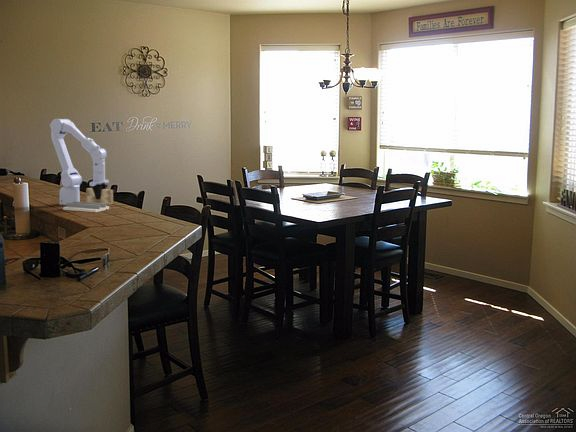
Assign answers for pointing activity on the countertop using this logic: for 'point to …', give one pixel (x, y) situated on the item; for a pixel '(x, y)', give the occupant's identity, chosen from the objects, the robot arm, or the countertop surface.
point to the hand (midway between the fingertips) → (99, 198)
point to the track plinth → (86, 206)
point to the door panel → (105, 196)
